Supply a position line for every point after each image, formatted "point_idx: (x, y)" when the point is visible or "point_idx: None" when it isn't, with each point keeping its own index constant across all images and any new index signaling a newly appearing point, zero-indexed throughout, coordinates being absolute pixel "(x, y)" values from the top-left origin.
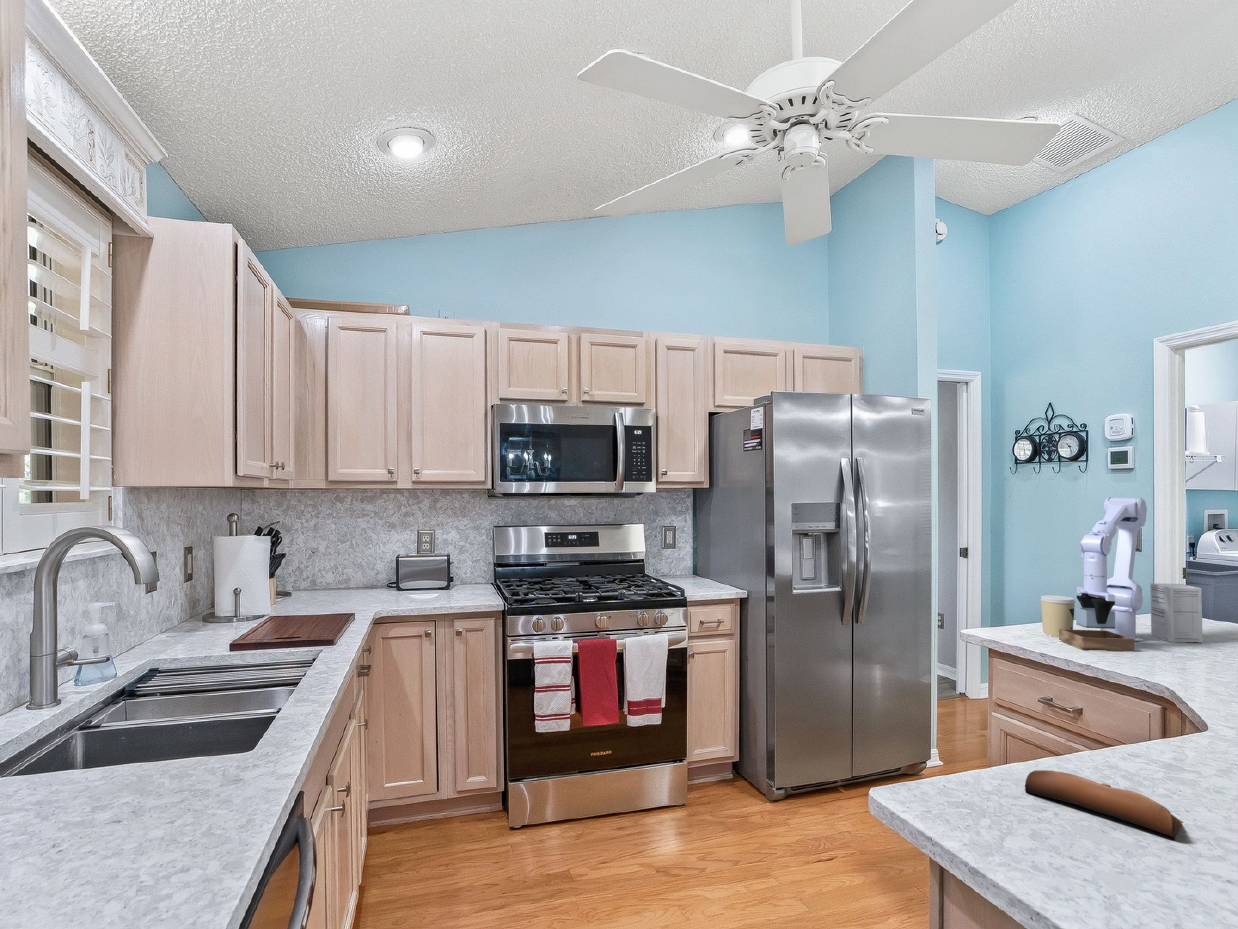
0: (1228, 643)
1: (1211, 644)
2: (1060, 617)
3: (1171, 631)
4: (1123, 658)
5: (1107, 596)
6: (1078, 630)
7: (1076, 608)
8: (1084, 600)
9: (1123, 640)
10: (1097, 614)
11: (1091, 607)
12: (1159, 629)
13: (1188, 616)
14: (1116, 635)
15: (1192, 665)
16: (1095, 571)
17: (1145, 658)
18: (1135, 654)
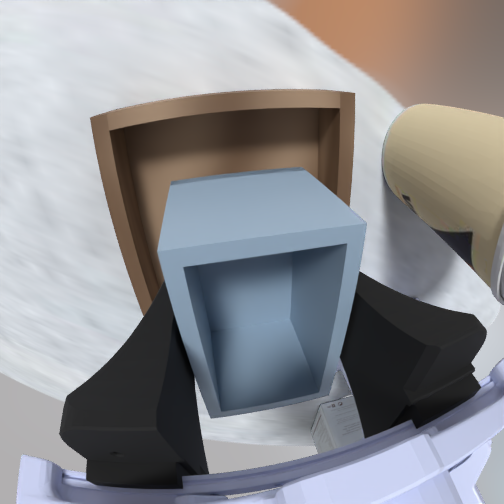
0: (311, 445)
1: (302, 436)
2: (449, 162)
3: (327, 425)
4: (22, 227)
5: (20, 495)
6: (337, 193)
7: (356, 220)
8: (394, 353)
9: (142, 308)
10: (148, 314)
11: (349, 346)
12: None
13: None
14: None
15: (45, 363)
16: None
17: (62, 299)
18: (114, 296)
